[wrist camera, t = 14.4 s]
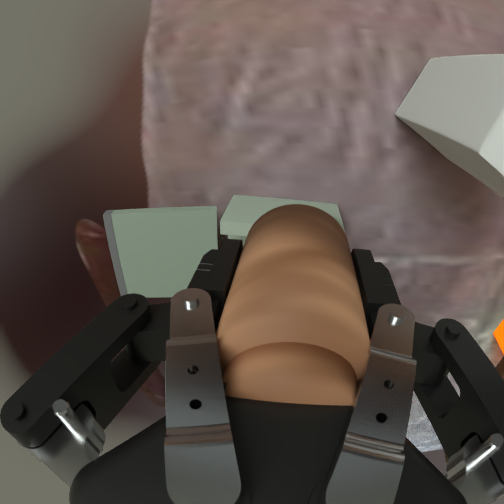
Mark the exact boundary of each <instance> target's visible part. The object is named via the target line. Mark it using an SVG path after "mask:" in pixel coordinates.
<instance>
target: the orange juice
mask: <svg viewBox="0 0 504 504" xmlns="http://www.w3.org/2000/svg"><path fill="white" fill-rule="evenodd" d="M493 334H494V336H495V338H496V340H497V342H498V344H499V346H500V348H501V350H502V352H503V354H504V320H503V321H502V322H501V324H500V325H499V326H498V327H497V329H496V330H495V331H494V333H493Z"/></svg>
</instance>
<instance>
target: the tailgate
mask: <svg viewBox="0 0 504 504" xmlns="http://www.w3.org/2000/svg"><path fill="white" fill-rule="evenodd" d="M103 219H104V224H105V229H106V234H107V239H108V244H109V248H110V253H111V257H112V262H113V266H114V270H115V274H116V278H117V282H118V286H119V290H120V294H121V296H123V295H126V294H132V293H136V294H141V295H143V296H145V297H173V296H174V295H175V294H176V293H177V292H179V291H181V290H183V289H187V287H188V285H189V283H190V281H191V279H192V277H193V275H194V273H195V271H196V270H197V267H198V265H199V264H200V261H201V259H202V257H203V255H204V254H206V253H207V252H208V251H210V250H211V249H217V250H218V241H217V206H196V207H168V208H145V209H127V210H107V211H106V212H105V213H104V215H103Z"/></svg>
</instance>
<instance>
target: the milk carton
mask: <svg viewBox="0 0 504 504" xmlns="http://www.w3.org/2000/svg"><path fill="white" fill-rule="evenodd" d="M395 116H397V117H398V118H399V119H401V120H402V121H403V122H404V123H406V124H407V125H408V126H409V127H411V128H412V129H413V130H414V131H416V132H417V133H418V134H419V135H420V136H422V137H423V138H424V139H425V140H426V141H428V142H429V143H430V144H431V145H432V146H433V147H435V148H436V149H437V150H438V151H439V152H440V153H441V154H442V155H444V156H445V157H446V158H447V159H448V160H449V161H451V162H453V163H454V164H456V165H457V166H459V167H460V168H462V169H463V170H465V171H466V172H468V173H469V174H471V175H472V176H473V177H475V178H476V179H478V180H479V181H481V182H482V183H483V184H485V185H486V186H487V187H489V188H490V189H492V190H493V191H494V192H496V193H497V194H498V195H499V196H501V197H502V198H503V199H504V54H484V55H462V56H448V57H437V58H431V59H430V60H429V61H428V63H427V64H426V66H425V67H424V69H423V71H422V72H421V74H420V75H419V77H418V79H417V80H416V82H415V83H414V85H413V86H412V88H411V90H410V91H409V93H408V94H407V96H406V97H405V99H404V100H403V102H402V103H401V105H400V106H399V108H398V110H397V111H396V113H395Z"/></svg>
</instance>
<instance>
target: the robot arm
mask: <svg viewBox="0 0 504 504" xmlns="http://www.w3.org/2000/svg"><path fill="white" fill-rule="evenodd" d="M242 250H243V241H242V240H239V239H224V241H223V243H222V245H221V248H220V250H217V249H211V250H210V251H208V252H207V253H206V254H204V255H203V257H202V259H201V261H200V264H199V265H198V267H197V270H196V271H195V273H194V275H193V277H192V279H191V281H190V283H189V285H188V287H187V289H183V290H181V291H179V292H177V293H176V294H175V295H174V296H173V297H172V299H171V302H169V303H164V304H154V305H149V303H148V300H147V298H146V297H145V296H143V295H141V294H136V293H132V294H126V295H123V296H121V297H119V298H117V299H116V300H115V301H114V302H112V303H111V304H110V305H109V306H108V307H107V308H106V309H104V310H103V311H102V312H101V313H100V314H99V315H98V316H96V318H94V319H93V320H92V321H91V322H90V323H89V324H88V325H86V326H85V327H84V328H83V329H82V330H81V331H80V332H79V333H78V334H77V335H75V336H74V337H73V338H72V339H71V340H70V341H69V342H68V343H67V344H65V345H64V346H63V347H62V348H61V349H60V350H59V351H58V352H57V353H56V354H55V355H54V356H53V357H51V358H50V359H49V360H48V361H47V362H46V363H45V364H44V365H43V366H42V367H41V368H40V369H39V370H38V371H37V372H36V373H35V374H34V375H33V376H32V377H30V378H29V379H28V380H27V381H26V382H25V383H24V384H23V385H22V386H21V387H20V388H19V389H18V390H17V391H16V392H15V393H14V394H13V395H12V396H11V397H10V398H9V399H8V400H7V401H6V402H5V404H4V405H3V407H2V409H1V414H0V419H1V423H2V425H3V427H4V428H5V430H7V431H8V432H9V433H10V434H11V435H12V436H13V437H14V438H15V439H16V440H17V441H18V443H19V444H20V445H21V446H22V447H23V448H24V449H26V450H27V451H28V452H29V453H30V454H31V455H33V456H34V457H35V458H36V459H37V460H39V461H41V462H43V463H44V464H45V465H46V466H48V467H49V468H50V469H51V470H52V471H53V472H54V473H55V474H56V475H57V476H58V477H59V478H61V480H63V481H64V482H65V483H66V484H67V485H68V486H69V487H71V488H70V493H69V496H70V497H69V501H70V504H490V503H492V502H494V501H496V500H497V499H499V498H500V497H502V496H504V380H503V378H502V377H501V376H500V374H499V373H498V371H497V370H496V368H495V367H494V366H493V364H492V363H491V361H490V360H489V359H488V357H487V356H486V354H485V353H484V352H483V350H482V349H481V348H480V346H479V345H478V344H477V342H476V341H475V340H474V338H473V337H472V336H471V335H470V333H469V332H468V331H467V329H466V328H465V327H464V326H463V325H462V324H461V323H459V322H458V321H455V320H453V319H441V320H439V321H438V322H437V323H436V325H435V328H434V327H430V326H427V325H423V324H420V323H417V322H415V318H414V315H413V314H412V312H411V311H410V310H409V309H407V308H406V307H404V306H402V305H401V303H400V300H399V297H398V295H397V292H396V289H395V286H394V284H393V281H392V279H391V276H390V273H389V270H388V269H387V268H386V267H385V266H384V265H383V264H382V263H381V262H374V259H373V256H372V253H371V251H370V250H364V249H353V250H352V252H351V256H352V260H353V264H354V268H355V272H356V277H357V281H358V285H359V290H360V294H361V299H362V304H363V308H364V313H365V318H366V323H367V328H368V333H369V339H370V349H369V356H368V358H367V361H366V363H365V366H364V368H363V371H362V373H361V375H360V378H359V380H358V382H357V388H358V392H357V395H356V392H355V396H356V399H355V402H354V405H353V406H346V405H314V404H296V403H283V402H271V401H261V400H252V399H244V398H236V397H228V396H225V389H226V385H227V383H225V382H223V379H222V373H221V366H220V359H219V352H218V345H217V338H216V331H217V328H218V325H219V321H220V318H221V315H222V312H223V309H224V306H225V303H226V299H227V296H228V293H229V290H230V287H231V284H232V281H233V278H234V274H235V271H236V268H237V265H238V262H239V259H240V256H241V253H242ZM124 347H125V349H124V350H123V351H122V352H121V353H120V354H119V355H118V356H117V357H116V358H115V359H114V360H113V361H112V359H113V358H114V357H115V356H116V355H117V354H118V353H119V352H120V351H121V350H122V349H123V348H124ZM111 361H112V362H111ZM161 361H166V374H165V375H166V377H165V388H166V416H164V417H163V418H161V419H160V420H158V421H157V422H155V423H154V424H152V425H150V426H149V427H147V428H146V429H145V430H143V431H141V432H140V433H138V434H136V435H135V436H133V437H132V438H130V439H129V440H127V441H125V442H123V443H122V444H120V445H119V446H117V447H115V448H114V449H112V450H110V451H109V452H107V453H105V454H103V455H102V456H100V457H99V454H100V453H101V452H102V451H103V446H104V443H105V437H106V436H105V432H104V429H105V428H106V427H107V426H108V425H109V424H110V422H111V421H112V420H113V419H114V418H115V416H116V415H117V414H118V413H119V412H120V411H121V409H122V408H123V407H124V406H125V405H126V403H127V402H128V401H129V400H130V398H131V397H132V396H133V395H134V394H135V393H136V392H137V390H138V389H139V388H140V387H141V386H142V384H143V383H144V382H145V381H146V380H147V379H148V377H149V376H150V375H151V374H152V373H153V371H154V370H155V369H156V368H157V367H158V366H159V364H160V363H161ZM449 372H450V373H451V375H452V376H453V378H454V380H455V381H456V383H457V384H458V386H459V388H460V397H459V395H458V394H457V392H456V390H455V389H454V387H453V386H452V384H451V382H450V381H449V379H448V377H447V374H448V373H449ZM413 390H414V392H415V394H416V396H417V398H418V399H419V401H420V403H421V405H422V407H423V409H424V411H425V413H426V415H427V417H428V419H429V421H430V422H431V424H432V426H433V428H434V430H435V432H436V434H437V436H438V438H439V440H440V443H441V445H442V447H443V449H444V451H445V453H446V455H447V457H448V459H449V460H448V462H447V467H446V468H447V469H446V471H447V473H446V474H445V476H444V475H443V474H442V473H441V472H440V471H439V470H438V469H437V468H436V467H435V466H434V465H433V464H432V463H431V462H430V461H429V460H428V459H427V458H426V457H425V456H424V455H423V454H422V453H421V452H420V451H419V450H418V449H417V448H416V447H415V446H414V445H413V444H412V443H411V442H410V441H409V440H408V439H407V438H406V433H407V428H408V422H409V416H410V410H411V404H412V397H413Z"/></svg>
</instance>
